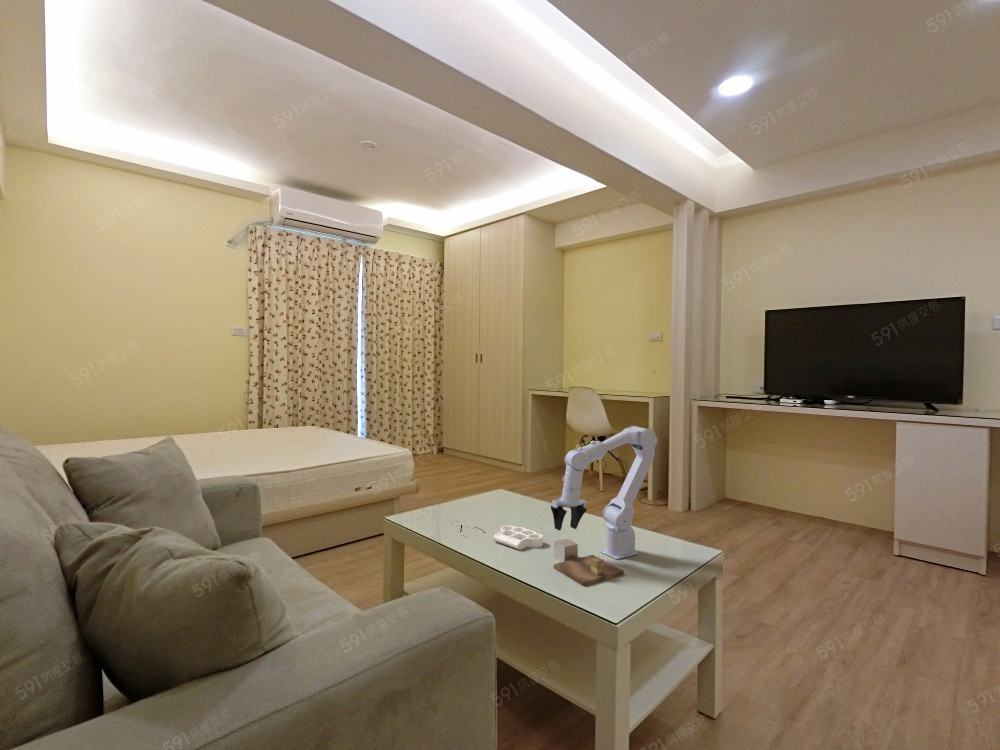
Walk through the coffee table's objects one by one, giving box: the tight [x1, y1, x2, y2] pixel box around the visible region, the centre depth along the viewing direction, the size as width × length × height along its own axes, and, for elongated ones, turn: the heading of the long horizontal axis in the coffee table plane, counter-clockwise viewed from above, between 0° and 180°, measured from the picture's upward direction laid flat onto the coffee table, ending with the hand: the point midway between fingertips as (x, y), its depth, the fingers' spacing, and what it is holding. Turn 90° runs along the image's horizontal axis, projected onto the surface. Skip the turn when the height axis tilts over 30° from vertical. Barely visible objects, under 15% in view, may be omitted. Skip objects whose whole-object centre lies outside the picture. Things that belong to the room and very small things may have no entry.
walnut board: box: [553, 554, 625, 587], centre depth 145 cm, size 16×14×5 cm
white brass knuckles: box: [492, 524, 544, 551], centre depth 170 cm, size 3×18×15 cm
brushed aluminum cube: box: [553, 538, 579, 563], centre depth 155 cm, size 5×5×5 cm
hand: (565, 528), depth 154 cm, fingers open, 7 cm apart
